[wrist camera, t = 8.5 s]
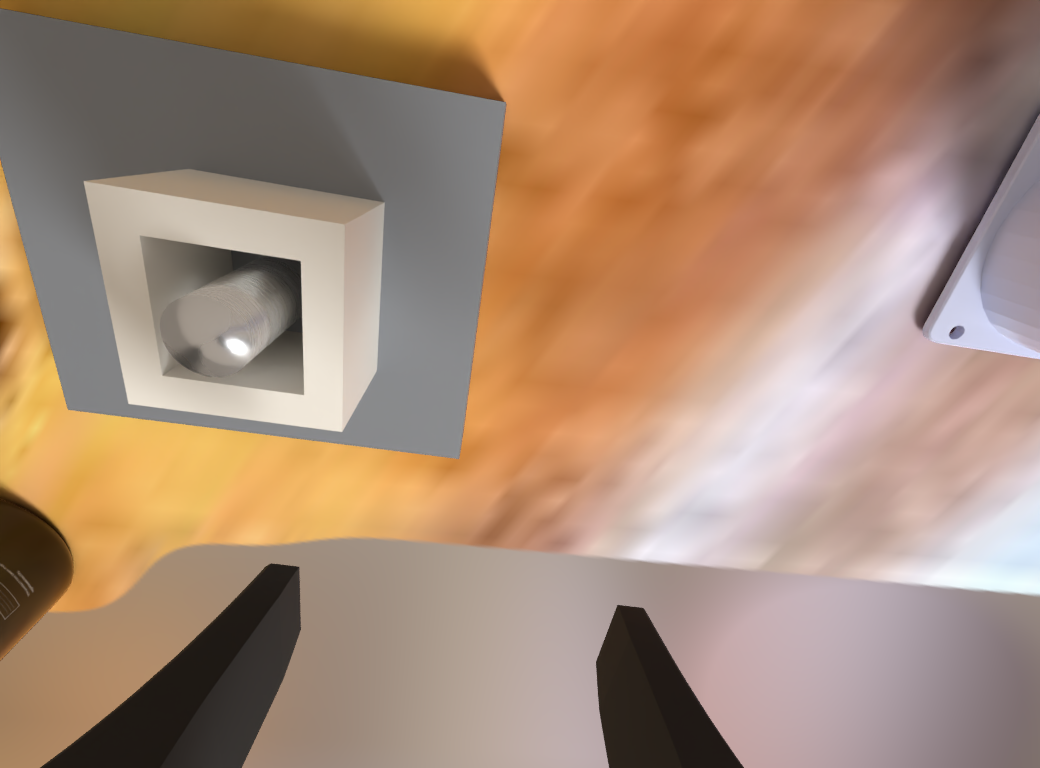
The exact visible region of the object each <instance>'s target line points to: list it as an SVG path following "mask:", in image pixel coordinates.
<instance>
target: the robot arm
mask: <svg viewBox="0 0 1040 768" xmlns="http://www.w3.org/2000/svg"><path fill="white" fill-rule="evenodd" d="M954 327H956V328H955V330H954V331H953V333H951V334H949V333H950V331H951V330H952V329H953V328H954ZM922 331H923V336H924V337H925V338H926V339H928V340H930V341H933V342H935V343H940V344H947V345H953V346H959V347H966V348H972V349H979V350H985V351H991V352H998V353H1004V354H1010V355H1017V356H1023V357H1029V358H1036V359H1040V114H1039V116H1038V118H1037V119H1036V121H1035V123H1034V125H1033V127H1032V128H1031V130H1030V132H1029V134H1028V136H1027V138H1026V139H1025V141H1024V143H1023V145H1022V147H1021V149H1020V150H1019V152H1018V154H1017V156H1016V158H1015V160H1014V161H1013V163H1012V165H1011V167H1010V169H1009V171H1008V172H1007V174H1006V176H1005V178H1004V180H1003V182H1002V183H1001V185H1000V187H999V189H998V191H997V193H996V194H995V196H994V198H993V200H992V202H991V204H990V205H989V207H988V209H987V211H986V213H985V214H984V216H983V218H982V220H981V222H980V224H979V225H978V227H977V229H976V231H975V233H974V235H973V236H972V238H971V240H970V242H969V244H968V246H967V247H966V249H965V251H964V253H963V255H962V257H961V258H960V260H959V262H958V264H957V266H956V268H955V269H954V271H953V273H952V275H951V277H950V279H949V280H948V282H947V284H946V286H945V288H944V290H943V291H942V293H941V295H940V297H939V299H938V300H937V302H936V304H935V306H934V308H933V310H932V311H931V313H930V315H929V317H928V319H927V321H926V322H925V324H924V327H923V330H922ZM300 624H301V622H300V581H299V567H296V566H288V565H279V564H269V565H268V566H266V567H265V568H264V569H263V570H262V571H261V573H259V575H257V577H256V578H255V579H254V580H253V581H252V582H251V583H250V584H249V585H248V586H247V587H246V588H245V589H244V590H243V591H242V592H241V593H240V594H239V596H238V597H237V598H236V599H235V600H234V601H233V602H232V603H231V604H230V605H229V606H228V607H227V608H226V609H225V610H224V611H223V612H222V613H221V614H220V615H219V616H218V617H217V618H216V619H215V620H214V621H213V622H212V623H211V624H210V625H208V626H207V627H206V628H205V629H204V630H203V631H202V632H201V633H200V634H199V635H198V636H197V637H196V638H195V639H194V640H193V641H192V642H191V643H190V644H189V645H188V646H186V647H185V648H184V650H182V651H181V652H180V653H179V654H178V655H177V656H176V657H175V658H174V659H173V660H171V662H169V663H168V664H167V665H166V666H165V667H164V668H162V669H161V670H160V671H159V672H158V673H157V674H155V675H154V676H153V677H152V678H151V679H150V680H149V681H148V682H146V683H145V684H144V685H143V686H142V687H141V688H140V689H139V690H137V691H136V692H135V693H134V694H133V695H132V696H130V697H129V698H128V699H127V700H126V701H124V702H123V703H122V704H121V705H120V706H118V707H117V708H116V709H115V710H114V711H112V712H111V713H110V714H109V715H108V716H106V717H105V718H104V719H103V720H101V721H100V722H99V723H98V724H96V725H95V726H94V727H93V728H91V730H89V731H88V732H86V733H85V734H84V735H83V736H81V737H80V738H79V739H78V740H76V741H75V742H74V743H72V744H71V745H70V746H69V747H67V748H66V749H65V750H63V751H62V752H61V753H59V754H58V755H57V756H55V757H54V758H53V759H51V760H50V761H49V762H47V763H46V764H44V765H43V766H42V767H41V768H242V766H243V764H244V761H245V759H246V757H247V755H248V753H249V751H250V749H251V747H252V745H253V743H254V740H255V738H256V736H257V734H258V732H259V730H260V728H261V726H262V723H263V721H264V719H265V717H266V715H267V713H268V711H269V708H270V707H271V704H272V702H273V700H274V698H275V696H276V694H277V692H278V689H279V687H280V685H281V683H282V681H283V678H284V676H285V673H286V670H287V667H288V664H289V662H290V659H291V656H292V653H293V650H294V648H295V645H296V642H297V639H298V636H299V633H300V630H301V627H300V626H301V625H300ZM596 668H597V685H598V697H599V710H600V716H601V723H602V729H603V734H604V740H605V746H606V752H607V758H608V763H609V768H744V767H743V766H742V764H741V763H740V762H739V760H738V759H737V758H736V756H735V755H734V753H733V752H732V750H731V749H730V747H729V746H728V744H727V743H726V742H725V740H724V739H723V737H722V736H721V735H720V733H719V731H718V730H717V728H716V727H715V725H714V724H713V723H712V721H711V719H710V718H709V716H708V715H707V714H706V712H705V710H704V708H703V707H702V705H701V704H700V702H699V701H698V699H697V698H696V696H695V694H694V693H693V691H692V690H691V688H690V686H689V685H688V683H687V682H686V680H685V678H684V677H683V675H682V673H681V672H680V670H679V668H678V667H677V665H676V663H675V662H674V660H673V658H672V656H671V655H670V653H669V651H668V650H667V648H666V646H665V644H664V643H663V641H662V639H661V637H660V636H659V634H658V632H657V631H656V629H655V627H654V625H653V624H652V622H651V620H650V618H649V616H648V615H647V613H646V611H645V610H644V609H643V608H639V607H630V606H622V605H617V608H616V611H615V613H614V616H613V619H612V621H611V624H610V627H609V629H608V632H607V635H606V637H605V640H604V643H603V645H602V648H601V650H600V653H599V656H598V658H597V661H596Z"/></svg>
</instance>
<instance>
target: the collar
mask: <svg viewBox="0 0 1040 768" xmlns="http://www.w3.org/2000/svg"><path fill="white" fill-rule="evenodd" d="M84 186H85V191H86V196H87V201H88V206H89V211H90V216H91V221H92V226H93V231H94V235H95V240H96V245H97V250H98V255H99V260H100V265H101V270H102V275H103V280H104V285H105V290H106V295H107V300H108V305H109V310H110V315H111V320H112V325H113V330H114V335H115V340H116V345H117V350H118V354H119V359H120V364H121V369H122V374H123V379H124V384H125V389H126V394H127V399H128V404H133V405H141V406H148V407H156V408H164V409H171V410H179V411H186V412H194V413H201V414H209V415H217V416H224V417H232V418H239V419H247V420H255V421H262V422H270V423H277V424H285V425H292V426H300V427H308V428H315V429H323V430H330V431H338V432H342V431H343V430H344V428H345V426H346V424H347V423H348V421H349V419H350V417H351V416H352V414H353V412H354V410H355V408H356V407H357V405H358V403H359V401H360V400H361V398H362V396H363V394H364V393H365V391H366V389H367V387H368V386H369V384H370V382H371V380H372V378H373V377H374V375H375V373H376V371H377V359H378V337H379V315H380V293H381V272H382V250H383V228H384V206H385V202H380V201H374V200H368V199H362V198H356V197H350V196H345V195H339V194H333V193H327V192H321V191H315V190H309V189H304V188H298V187H292V186H286V185H280V184H274V183H269V182H263V181H257V180H251V179H245V178H239V177H233V176H228V175H222V174H216V173H210V172H204V171H198V170H193V169H183V170H175V171H166V172H158V173H149V174H140V175H132V176H123V177H115V178H106V179H98V180H89V181H84ZM231 250H235V251H241V252H248V253H254V254H260V255H266V256H273V257H279V258H285V259H292V260H298V261H301V287H302V327H303V333H299V332H292V331H286V330H285V331H284V332H283V333H282V334H281V335H280V336H279V337H277V338H276V339H275V340H274V341H273V342H272V343H271V344H269V345H268V346H267V347H266V348H265V349H264V350H263V351H261V352H260V353H259V354H258V355H257V356H256V357H255V358H253V359H252V360H251V361H250V362H249V363H248V364H247V365H245V366H244V367H243V368H242V369H241V370H240V371H238V372H237V373H235V374H233V375H230V376H226V377H208V376H203V375H200V374H197V373H195V372H193V371H191V370H189V369H187V368H186V367H184V366H183V365H181V364H180V363H179V362H178V361H177V360H176V359H175V358H174V357H173V356H172V355H171V354H170V353H169V351H168V350H167V348H166V346H165V345H164V343H163V340H162V337H161V333H160V319H161V316H162V313H163V311H164V310H165V308H166V307H167V306H168V305H169V304H170V303H171V302H173V301H175V300H176V299H178V298H180V297H182V296H184V295H186V294H188V293H190V292H192V291H194V290H196V289H198V288H200V287H202V286H204V285H206V284H208V283H210V282H212V281H214V280H216V279H218V278H220V277H222V276H224V275H226V274H228V273H230V272H232V271H233V266H232V255H231Z"/></svg>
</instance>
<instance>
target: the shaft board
mask: <svg viewBox="0 0 1040 768" xmlns="http://www.w3.org/2000/svg"><path fill="white" fill-rule="evenodd" d="M505 112H506V102H501V101H496V100H491V99H485V98H480V97H474V96H469V95H464V94H458V93H453V92H448V91H442V90H437V89H431V88H426V87H421V86H415V85H410V84H405V83H399V82H394V81H388V80H383V79H378V78H372V77H367V76H361V75H356V74H351V73H345V72H340V71H335V70H329V69H324V68H318V67H313V66H308V65H302V64H297V63H291V62H286V61H281V60H275V59H270V58H265V57H259V56H254V55H248V54H243V53H238V52H232V51H227V50H221V49H216V48H211V47H205V46H200V45H195V44H189V43H184V42H178V41H173V40H168V39H162V38H157V37H152V36H146V35H141V34H135V33H130V32H125V31H119V30H114V29H108V28H103V27H98V26H92V25H87V24H82V23H76V22H71V21H65V20H60V19H55V18H49V17H44V16H38V15H33V14H28V13H22V12H17V11H12V10H6V9H1V8H0V159H1V163H2V167H3V171H4V174H5V178H6V182H7V185H8V189H9V193H10V197H11V200H12V204H13V208H14V211H15V215H16V219H17V223H18V226H19V230H20V234H21V237H22V241H23V245H24V248H25V252H26V256H27V260H28V263H29V267H30V271H31V274H32V278H33V282H34V286H35V289H36V293H37V297H38V300H39V304H40V308H41V312H42V315H43V319H44V323H45V326H46V330H47V334H48V338H49V341H50V345H51V349H52V352H53V356H54V360H55V363H56V367H57V371H58V375H59V378H60V382H61V386H62V389H63V393H64V397H65V401H66V404H67V408H68V410H75V411H83V412H91V413H98V414H106V415H114V416H122V417H130V418H138V419H146V420H154V421H162V422H170V423H178V424H186V425H194V426H202V427H210V428H218V429H226V430H234V431H241V432H249V433H257V434H265V435H273V436H281V437H289V438H297V439H305V440H313V441H321V442H329V443H337V444H345V445H353V446H361V447H369V448H377V449H384V450H392V451H400V452H408V453H416V454H424V455H432V456H440V457H448V458H456V459H459V456H460V450H461V444H462V438H463V431H464V423H465V415H466V408H467V400H468V393H469V385H470V377H471V370H472V362H473V355H474V347H475V339H476V332H477V324H478V317H479V309H480V301H481V294H482V286H483V279H484V271H485V264H486V256H487V248H488V241H489V233H490V226H491V218H492V210H493V203H494V195H495V188H496V180H497V172H498V165H499V157H500V150H501V142H502V135H503V127H504V119H505ZM183 169H193V170H198V171H204V172H210V173H216V174H222V175H228V176H233V177H239V178H245V179H251V180H257V181H263V182H269V183H274V184H280V185H286V186H292V187H298V188H304V189H309V190H315V191H321V192H327V193H333V194H339V195H345V196H350V197H356V198H362V199H368V200H374V201H380V202H385V206H384V228H383V250H382V272H381V293H380V315H379V337H378V359H377V371H376V373H375V375H374V377H373V378H372V380H371V382H370V384H369V386H368V387H367V389H366V391H365V393H364V394H363V396H362V398H361V400H360V401H359V403H358V405H357V407H356V408H355V410H354V412H353V414H352V416H351V417H350V419H349V421H348V423H347V424H346V426H345V428H344V430H343V431H342V432H338V431H330V430H323V429H315V428H308V427H300V426H292V425H285V424H277V423H270V422H262V421H255V420H247V419H239V418H232V417H224V416H217V415H209V414H201V413H194V412H186V411H179V410H171V409H164V408H156V407H148V406H141V405H133V404H128V399H127V394H126V389H125V384H124V379H123V374H122V369H121V364H120V359H119V354H118V350H117V345H116V340H115V335H114V330H113V325H112V320H111V315H110V310H109V305H108V300H107V295H106V290H105V285H104V280H103V275H102V270H101V265H100V260H99V255H98V250H97V245H96V240H95V235H94V231H93V226H92V221H91V216H90V211H89V206H88V201H87V196H86V191H85V186H84V181H89V180H98V179H106V178H115V177H123V176H132V175H140V174H149V173H158V172H166V171H175V170H183ZM231 255H232V266H233V271H232V272H230V273H228V274H226V275H224V276H222V277H220V278H218V279H216V280H214V281H212V282H210V283H208V284H206V285H204V286H202V287H200V288H198V289H196V290H194V291H192V292H190V293H188V294H186V295H184V296H182V297H180V298H178V299H176V300H175V301H173V302H171V303H170V304H169V305H168V306H167V307H166V308H165V310H164V311H163V313H162V316H161V319H160V333H161V337H162V340H163V343H164V345H165V346H166V348H167V350H168V351H169V353H170V354H171V355H172V356H173V357H174V358H175V359H176V360H177V361H178V362H179V363H180V364H181V365H183V366H184V367H186V368H187V369H189V370H191V371H193V372H195V373H197V374H200V375H203V376H208V377H226V376H230V375H233V374H235V373H237V372H238V371H240V370H241V369H242V368H243V367H244V366H245V365H247V364H248V363H249V362H250V361H251V360H252V359H253V358H255V357H256V356H257V355H258V354H259V353H260V352H261V351H263V350H264V349H265V348H266V347H267V346H268V345H269V344H271V343H272V342H273V341H274V340H275V339H276V338H277V337H279V336H280V335H281V334H282V333H283V332H284V331H285V330H286V331H292V332H299V333H303V327H302V287H301V261H298V260H292V259H285V258H279V257H273V256H266V255H260V254H254V253H248V252H241V251H235V250H231Z"/></svg>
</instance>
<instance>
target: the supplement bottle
mask: <svg viewBox="0 0 1040 768" xmlns="http://www.w3.org/2000/svg"><path fill="white" fill-rule="evenodd" d="M72 578H73V560H72V556H71V553H70V551H69V549H68V547H67V545H66V544H65V542H64V541H63V539H62V538H61V537H60V536H59V534H58V533H57V532H56V531H55V530H54V529H53V528H52V527H50V526H49V525H48V524H47V523H46V522H44V521H43V520H42V519H40V518H39V517H37V516H36V515H34V514H33V513H31V512H29V511H28V510H26V509H24V508H22V507H20V506H18V505H15V504H13V503H11V502H8V501H5V500H2V499H0V661H1V660H2V659H3V658H4V657H5V656H6V655H7V654H8V652H9V651H10V650H11V649H12V648H13V647H14V646H15V645H16V644H17V643H18V642H19V641H20V640H21V639H22V638H23V637H24V636H25V635H26V634H27V633H28V632H29V631H30V630H31V629H32V628H33V626H35V624H36V623H37V622H38V621H39V620H40V619H41V618H42V617H43V616H44V615H45V614H46V613H47V612H48V611H49V610H50V609H51V608H52V607H53V606H54V604H55V603H56V602H57V601H58V600H59V599H60V598H61V597H62V596H63V594H64V593H65V592H66V591H67V589H68V587H69V586H70V584H71V581H72Z"/></svg>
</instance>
